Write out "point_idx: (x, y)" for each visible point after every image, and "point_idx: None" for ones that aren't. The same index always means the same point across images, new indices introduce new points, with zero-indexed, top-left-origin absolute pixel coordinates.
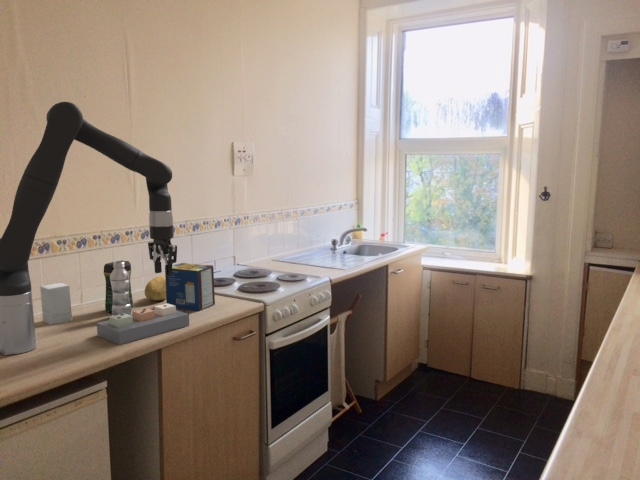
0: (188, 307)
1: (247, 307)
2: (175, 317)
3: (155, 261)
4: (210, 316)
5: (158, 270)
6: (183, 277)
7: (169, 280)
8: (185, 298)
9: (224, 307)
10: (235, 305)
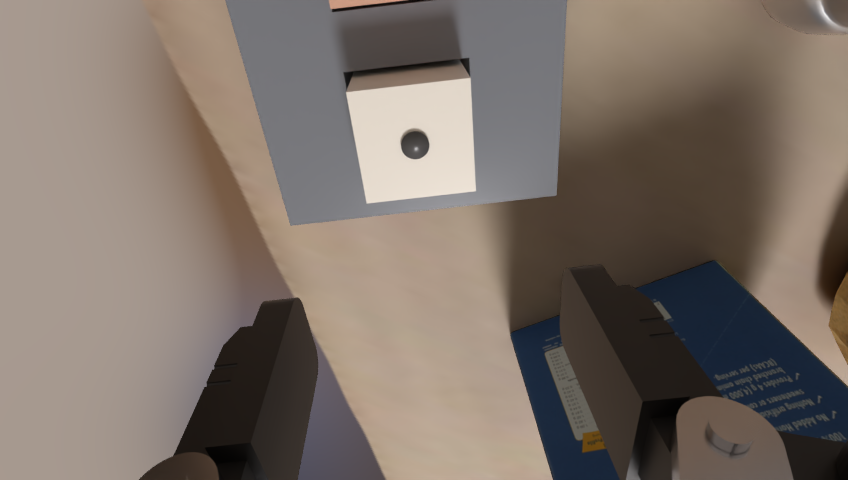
0: None
1: (402, 466)
2: (265, 129)
3: (671, 430)
4: (387, 328)
5: (574, 323)
6: None
7: (797, 389)
8: None
9: (472, 417)
10: (463, 452)
